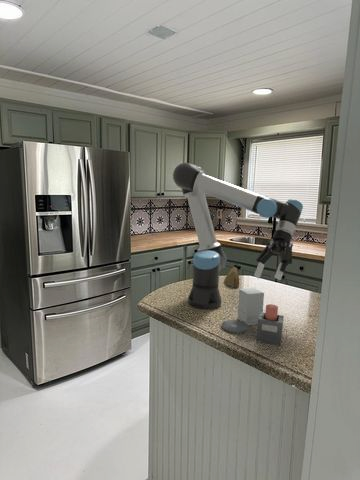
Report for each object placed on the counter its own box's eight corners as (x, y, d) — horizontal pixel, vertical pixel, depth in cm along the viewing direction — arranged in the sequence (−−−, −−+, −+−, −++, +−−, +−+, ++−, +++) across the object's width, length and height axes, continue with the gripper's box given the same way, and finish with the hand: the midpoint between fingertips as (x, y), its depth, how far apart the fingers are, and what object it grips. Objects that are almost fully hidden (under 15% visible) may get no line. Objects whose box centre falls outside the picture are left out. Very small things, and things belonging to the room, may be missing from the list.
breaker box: (256, 341, 110) (257, 319, 109) (259, 332, 117) (260, 312, 116) (280, 345, 108) (282, 323, 106) (281, 337, 114) (283, 315, 113)
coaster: (218, 330, 118) (218, 328, 118) (224, 320, 127) (225, 318, 127) (245, 335, 114) (246, 333, 114) (250, 325, 124) (250, 322, 123)
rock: (244, 284, 169) (243, 277, 178) (235, 272, 167) (234, 265, 177) (227, 294, 172) (227, 286, 181) (218, 282, 170) (218, 275, 180)
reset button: (263, 325, 110) (265, 307, 109) (265, 321, 114) (266, 303, 113) (275, 328, 109) (277, 309, 108) (276, 323, 113) (278, 305, 112)
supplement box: (262, 323, 125) (264, 292, 123) (245, 325, 123) (247, 294, 121) (253, 316, 132) (255, 287, 130) (236, 318, 130) (238, 288, 128)
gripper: (311, 235, 128) (294, 283, 124) (271, 238, 151) (255, 279, 147) (298, 226, 126) (280, 275, 121) (259, 231, 149) (242, 272, 144)
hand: (266, 278), depth 134 cm, fingers open, 13 cm apart
